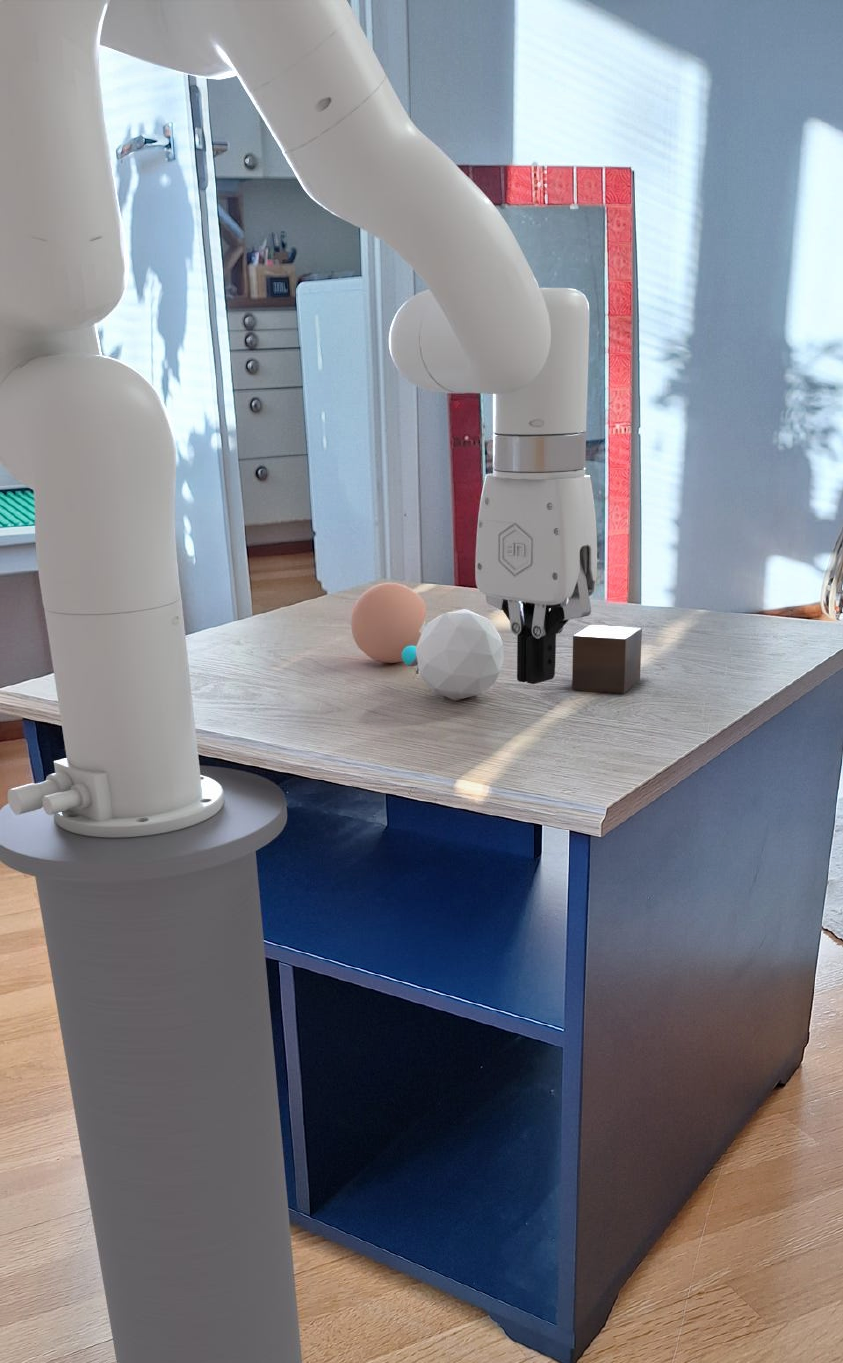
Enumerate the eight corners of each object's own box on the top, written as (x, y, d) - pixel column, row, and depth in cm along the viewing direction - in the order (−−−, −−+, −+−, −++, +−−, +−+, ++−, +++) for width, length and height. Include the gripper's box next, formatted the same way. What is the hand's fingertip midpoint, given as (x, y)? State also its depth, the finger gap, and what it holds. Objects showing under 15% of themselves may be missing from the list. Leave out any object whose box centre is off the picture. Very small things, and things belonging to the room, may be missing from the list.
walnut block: (624, 694, 117) (625, 639, 115) (571, 689, 119) (572, 635, 117) (640, 681, 121) (642, 627, 119) (589, 677, 123) (590, 624, 121)
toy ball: (445, 659, 132) (443, 581, 128) (394, 674, 126) (390, 593, 123) (388, 650, 137) (384, 574, 133) (336, 664, 131) (331, 585, 128)
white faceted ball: (447, 675, 110) (358, 672, 119) (506, 715, 116) (416, 709, 124) (477, 592, 111) (386, 594, 120) (534, 636, 117) (443, 635, 125)
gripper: (441, 456, 107) (444, 674, 114) (582, 464, 97) (575, 702, 105) (501, 450, 112) (500, 660, 119) (642, 457, 102) (631, 685, 109)
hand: (535, 679), depth 112 cm, fingers closed
